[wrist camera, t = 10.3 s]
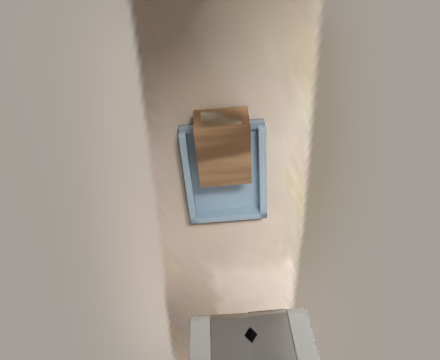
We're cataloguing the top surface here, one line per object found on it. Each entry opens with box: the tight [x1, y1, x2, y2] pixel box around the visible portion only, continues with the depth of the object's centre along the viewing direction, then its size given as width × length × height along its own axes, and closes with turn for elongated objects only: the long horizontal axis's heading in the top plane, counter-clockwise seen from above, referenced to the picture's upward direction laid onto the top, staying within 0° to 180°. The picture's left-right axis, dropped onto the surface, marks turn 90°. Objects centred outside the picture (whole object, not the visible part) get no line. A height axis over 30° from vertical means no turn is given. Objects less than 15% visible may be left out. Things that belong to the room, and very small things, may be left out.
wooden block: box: [193, 106, 252, 187], centre depth 47 cm, size 4×6×8 cm
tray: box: [178, 119, 267, 224], centre depth 51 cm, size 13×10×2 cm
